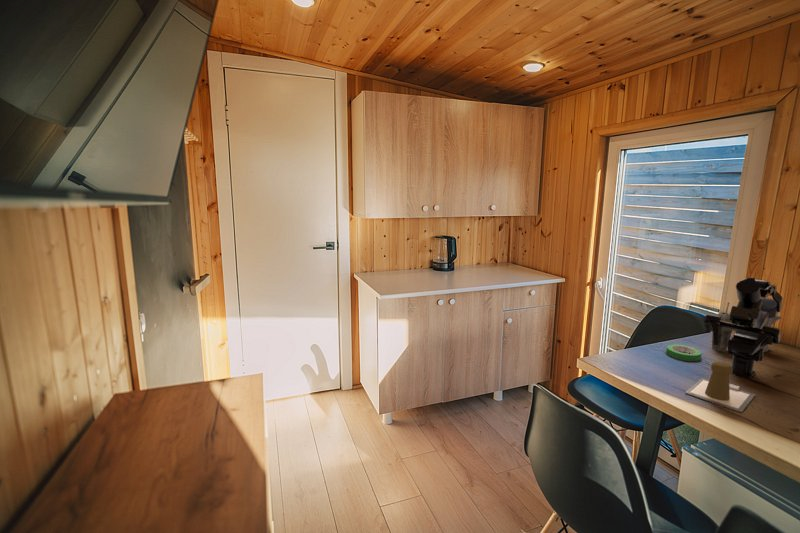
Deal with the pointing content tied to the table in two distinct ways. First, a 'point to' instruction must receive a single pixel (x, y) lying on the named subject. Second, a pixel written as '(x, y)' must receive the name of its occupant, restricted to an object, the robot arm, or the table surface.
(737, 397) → the clipboard
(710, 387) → the cork
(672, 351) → the tape roll
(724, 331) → the beverage cup
